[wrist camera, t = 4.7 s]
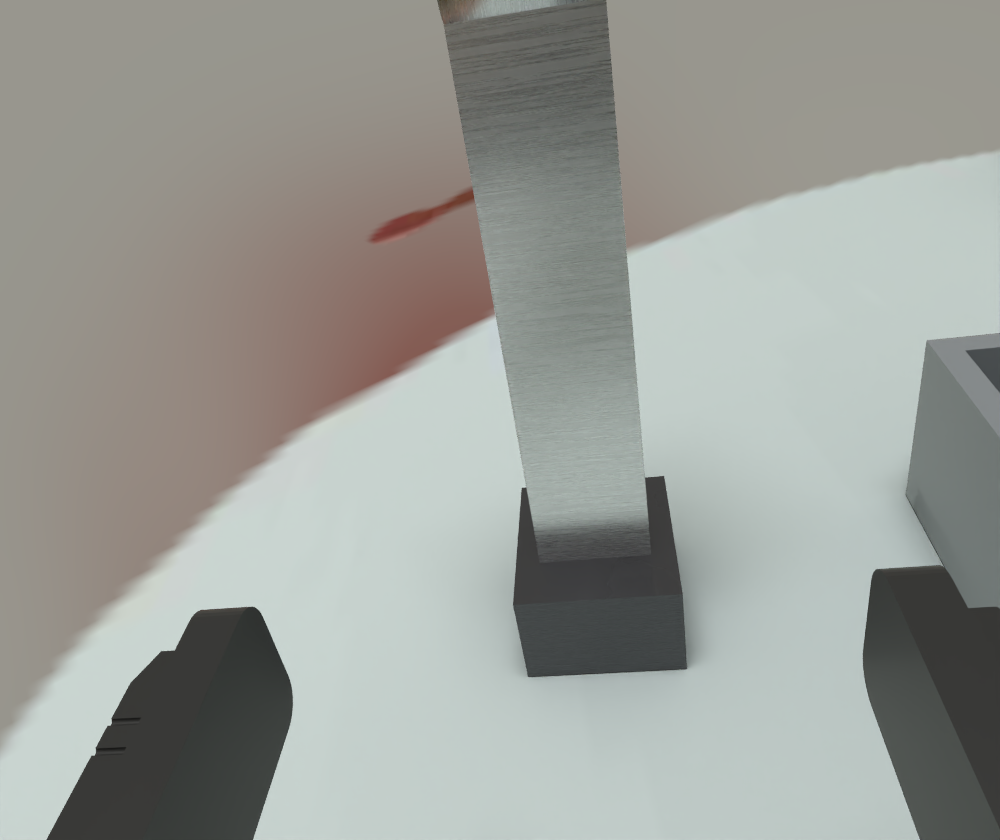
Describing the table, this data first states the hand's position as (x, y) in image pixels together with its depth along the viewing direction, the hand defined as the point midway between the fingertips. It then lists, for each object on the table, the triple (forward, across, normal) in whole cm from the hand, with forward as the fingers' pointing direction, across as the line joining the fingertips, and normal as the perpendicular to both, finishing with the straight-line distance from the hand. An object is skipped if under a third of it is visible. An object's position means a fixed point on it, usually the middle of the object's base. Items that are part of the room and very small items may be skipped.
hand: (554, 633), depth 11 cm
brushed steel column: (+11, 0, +11) cm, 16 cm away
